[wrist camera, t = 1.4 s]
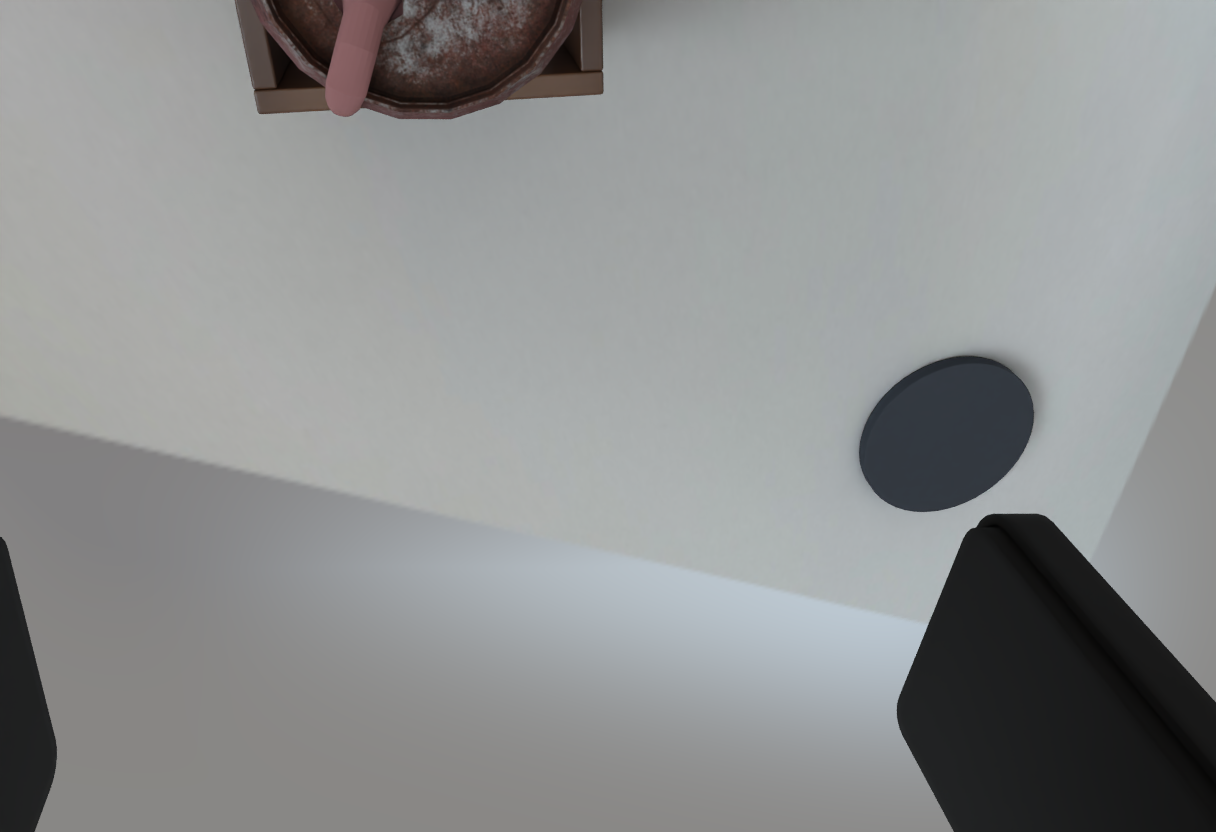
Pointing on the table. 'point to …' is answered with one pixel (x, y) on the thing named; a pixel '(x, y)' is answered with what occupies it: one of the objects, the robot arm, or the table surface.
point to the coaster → (946, 434)
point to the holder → (298, 92)
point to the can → (419, 50)
